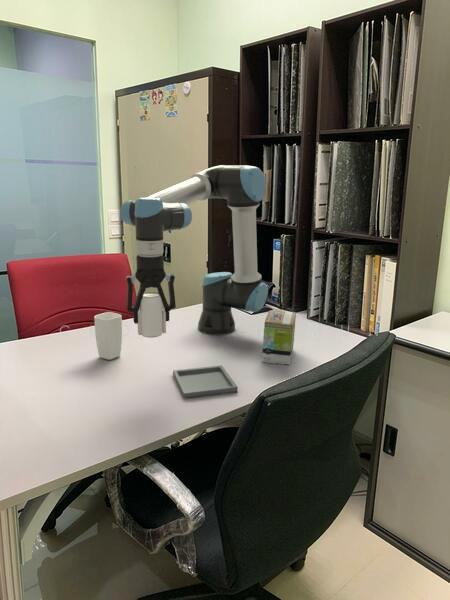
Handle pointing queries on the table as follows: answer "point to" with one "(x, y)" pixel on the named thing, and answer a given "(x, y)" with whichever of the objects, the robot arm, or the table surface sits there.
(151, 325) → the can
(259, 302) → the robot arm
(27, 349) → the table surface
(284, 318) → the tea box
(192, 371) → the tray
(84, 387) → the table surface
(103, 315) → the cup
